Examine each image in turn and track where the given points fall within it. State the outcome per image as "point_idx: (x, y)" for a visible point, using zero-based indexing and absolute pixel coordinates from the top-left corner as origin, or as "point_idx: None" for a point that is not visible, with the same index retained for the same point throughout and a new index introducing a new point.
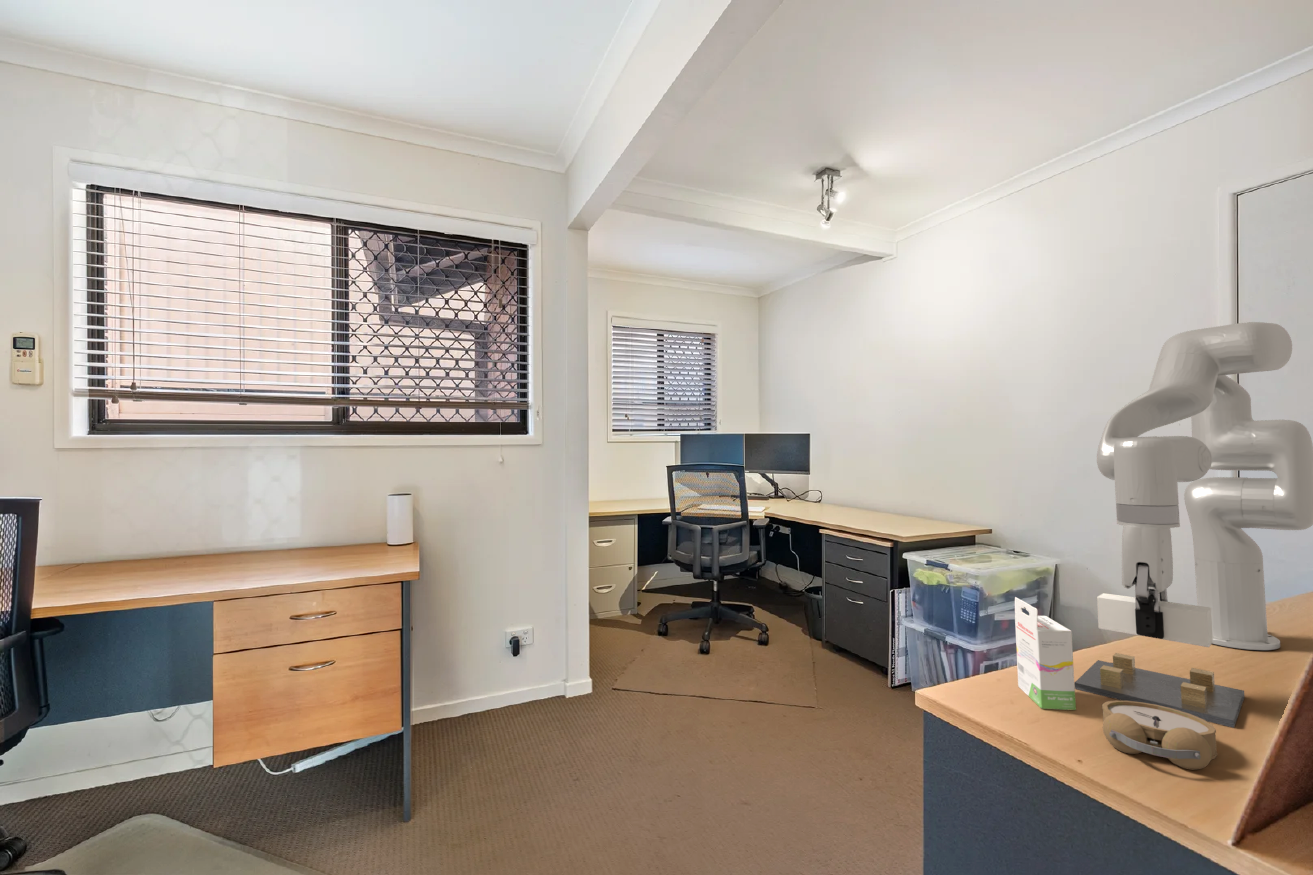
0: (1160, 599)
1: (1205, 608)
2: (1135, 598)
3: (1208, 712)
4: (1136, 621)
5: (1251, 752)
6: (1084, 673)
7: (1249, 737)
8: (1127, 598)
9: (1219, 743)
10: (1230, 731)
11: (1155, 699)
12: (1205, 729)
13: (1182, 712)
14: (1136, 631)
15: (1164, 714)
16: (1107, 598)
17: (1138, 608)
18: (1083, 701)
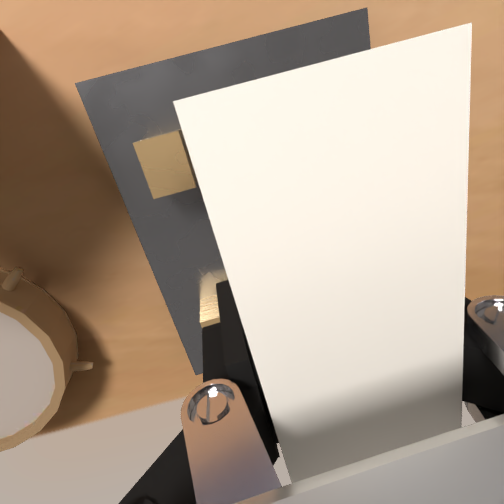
0: (486, 404)
1: None
2: (193, 468)
3: (195, 342)
4: (221, 316)
5: (111, 414)
6: (189, 55)
7: (175, 389)
8: (371, 286)
9: (96, 384)
10: (173, 368)
11: (168, 264)
12: (17, 426)
13: (57, 377)
14: (217, 286)
15: (19, 358)
16: (216, 199)
17: (191, 411)
18: (16, 154)
